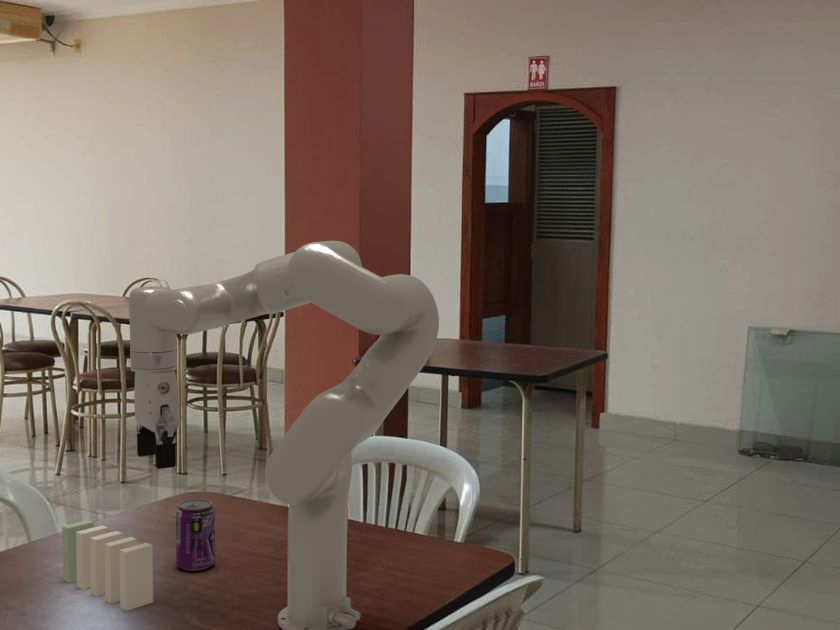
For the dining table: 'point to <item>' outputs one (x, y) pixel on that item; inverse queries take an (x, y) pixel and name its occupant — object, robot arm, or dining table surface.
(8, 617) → the dining table surface
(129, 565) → the tile
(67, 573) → the tile
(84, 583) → the tile
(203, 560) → the beverage can
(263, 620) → the dining table surface
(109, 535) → the tile
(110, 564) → the tile
